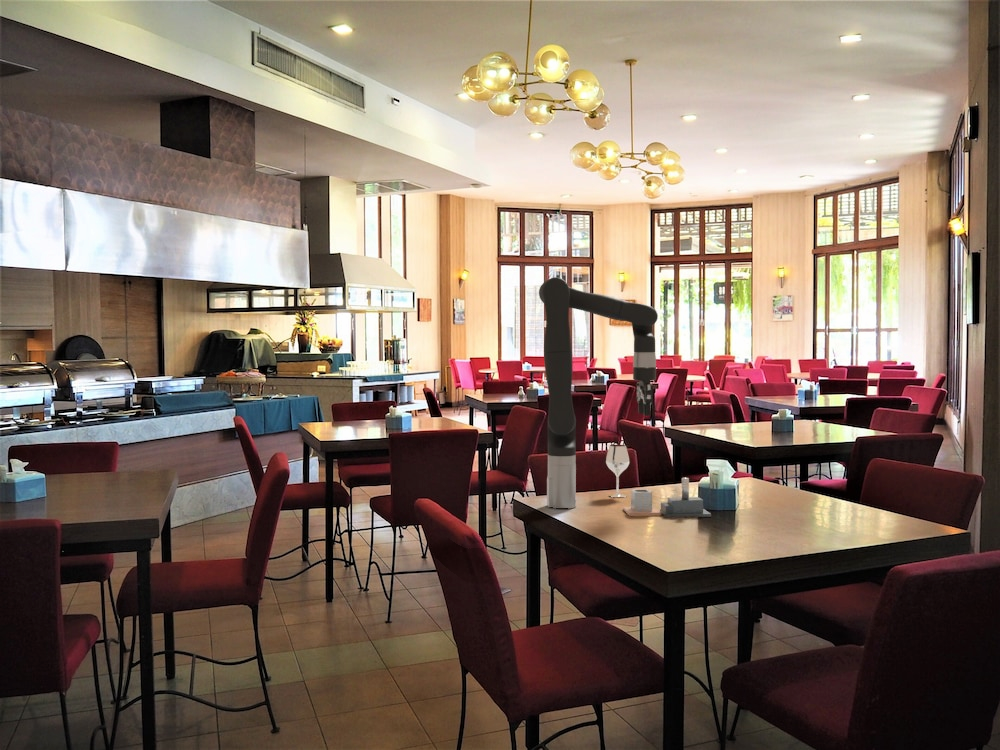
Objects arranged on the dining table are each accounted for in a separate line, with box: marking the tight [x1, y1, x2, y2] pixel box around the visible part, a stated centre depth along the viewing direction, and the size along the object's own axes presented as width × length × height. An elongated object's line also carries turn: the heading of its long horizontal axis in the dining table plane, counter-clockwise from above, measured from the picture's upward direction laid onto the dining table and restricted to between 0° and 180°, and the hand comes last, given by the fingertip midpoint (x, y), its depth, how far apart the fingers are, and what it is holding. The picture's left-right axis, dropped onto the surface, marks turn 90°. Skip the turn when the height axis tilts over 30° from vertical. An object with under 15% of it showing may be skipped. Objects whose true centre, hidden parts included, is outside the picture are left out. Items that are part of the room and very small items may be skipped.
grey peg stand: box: [659, 477, 712, 518], centre depth 267 cm, size 14×8×12 cm, turn 93°
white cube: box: [630, 488, 653, 511], centre depth 270 cm, size 6×6×6 cm
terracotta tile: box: [622, 506, 662, 517], centre depth 270 cm, size 10×10×1 cm
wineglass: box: [605, 444, 630, 498], centre depth 300 cm, size 8×8×18 cm
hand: (644, 414), depth 284 cm, fingers open, 8 cm apart
